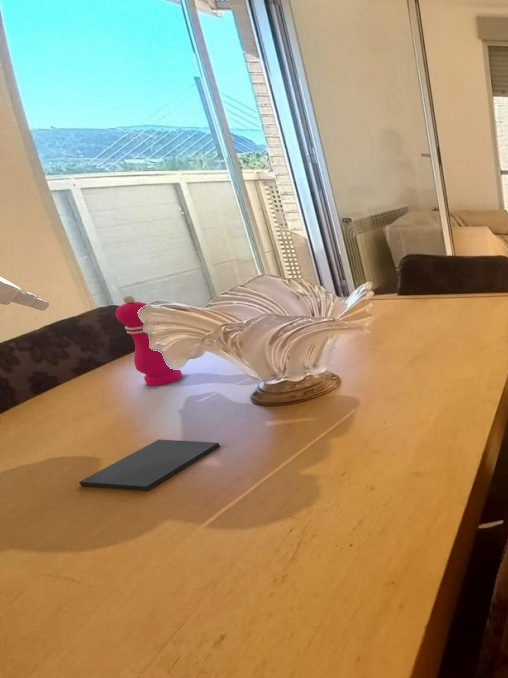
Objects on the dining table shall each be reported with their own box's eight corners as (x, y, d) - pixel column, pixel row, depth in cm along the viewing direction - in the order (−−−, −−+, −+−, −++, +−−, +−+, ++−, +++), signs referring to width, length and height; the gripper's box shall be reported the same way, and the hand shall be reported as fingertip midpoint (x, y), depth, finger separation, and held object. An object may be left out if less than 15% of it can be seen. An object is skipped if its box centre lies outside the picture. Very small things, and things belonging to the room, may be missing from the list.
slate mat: (81, 486, 73) (78, 481, 72) (160, 443, 84) (158, 439, 83) (148, 491, 71) (146, 486, 71) (220, 446, 82) (218, 442, 82)
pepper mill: (135, 385, 107) (94, 299, 99) (170, 372, 113) (134, 290, 105) (159, 388, 105) (119, 300, 97) (193, 374, 111) (158, 291, 103)
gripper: (-53, 251, 76) (64, 296, 87) (-66, 243, 86) (41, 284, 98) (-83, 285, 74) (41, 326, 85) (-92, 272, 85) (20, 310, 96)
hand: (41, 303), depth 92 cm, fingers open, 8 cm apart
